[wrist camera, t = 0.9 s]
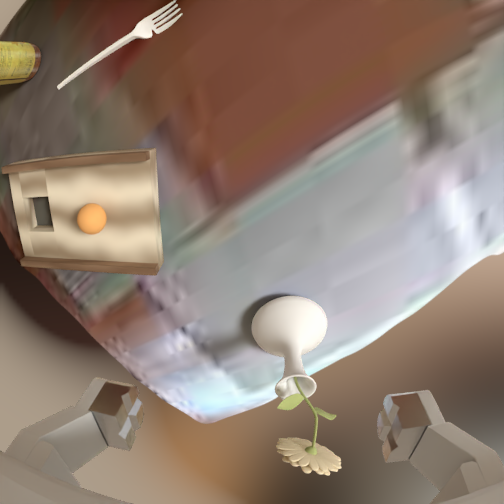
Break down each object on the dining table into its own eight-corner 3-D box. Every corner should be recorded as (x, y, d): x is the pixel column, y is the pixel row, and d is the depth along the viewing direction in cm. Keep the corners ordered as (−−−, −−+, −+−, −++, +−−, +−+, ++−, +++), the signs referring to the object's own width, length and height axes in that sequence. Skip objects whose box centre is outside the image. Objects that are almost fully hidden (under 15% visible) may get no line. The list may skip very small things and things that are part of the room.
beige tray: (17, 161, 39) (1, 167, 35) (155, 147, 38) (145, 152, 35) (34, 254, 46) (21, 265, 42) (163, 261, 45) (156, 275, 42)
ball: (84, 199, 39) (69, 209, 35) (109, 199, 39) (96, 209, 35) (88, 227, 41) (74, 239, 37) (113, 227, 40) (100, 239, 37)
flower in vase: (236, 320, 49) (220, 467, 27) (292, 275, 46) (313, 427, 23) (292, 363, 53) (302, 497, 30) (346, 325, 49) (385, 463, 27)
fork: (56, 79, 34) (48, 79, 33) (178, 1, 30) (174, -3, 28) (63, 97, 36) (56, 98, 34) (187, 20, 31) (184, 16, 30)
